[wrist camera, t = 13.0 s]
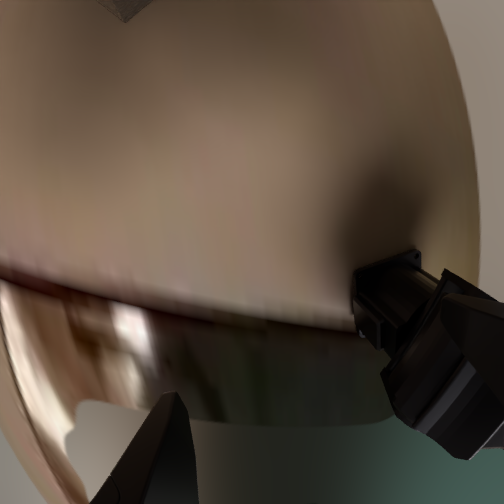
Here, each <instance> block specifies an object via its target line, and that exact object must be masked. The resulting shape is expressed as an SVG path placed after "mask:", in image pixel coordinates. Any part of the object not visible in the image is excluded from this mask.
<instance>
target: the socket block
mask: <svg viewBox="0 0 504 504" xmlns="http://www.w3.org/2000/svg"><path fill="white" fill-rule="evenodd" d="M96 1H98V2H99V3H100V4H101V5H103V6H104V7H105V8H107V9H108V10H109V11H111V12H112V13H113V14H114V15H116V16H117V17H118V18H119V19H121V20H122V21H123V22H124V23H126V22H127V21H128V20H129V19H131V18H132V17H133V16H134V15H135V14H136V13H138V12H139V11H140V10H141V9H143V8H144V7H145V6H146V5H148V4H149V3H150V2H151V1H153V0H96Z"/></svg>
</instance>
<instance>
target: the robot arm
mask: <svg viewBox="0 0 504 504" xmlns="http://www.w3.org/2000/svg"><path fill="white" fill-rule="evenodd" d="M415 254H416V256H415ZM414 256H415V257H414ZM360 274H361V277H359V278H358V276H359V275H360ZM441 275H442V277H441V279H440V280H438V279H436V278H435V277H433V276H432V275H430V274H429V273H427V272H426V271H424V270H422V269H421V252H420V251H419V250H417V249H413V250H410V251H407V252H405V253H402V254H399V255H396V256H394V257H391V258H388V259H385V260H383V261H380V262H377V263H374V264H371V265H368V266H365V267H363V268H360V269H357V270H356V271H355V272H354V274H353V281H354V291H355V296H354V298H353V308H354V320H355V325H356V326H357V330H358V334H359V336H360V337H361V338H364V337H366V338H367V339H368V340H369V341H370V343H371V344H372V345H373V346H374V347H375V349H376V350H378V351H381V350H384V351H385V352H386V353H387V354H388V355H389V357H390V358H391V361H390V362H389V364H388V365H387V366H386V368H385V367H384V369H383V370H382V371H381V373H380V375H381V378H382V381H383V383H384V386H385V389H386V392H387V394H388V397H389V400H390V403H391V406H392V408H393V410H394V412H395V415H396V417H397V418H399V419H400V420H401V421H403V422H404V423H405V424H406V425H407V426H409V427H411V428H412V429H414V430H416V431H419V432H422V433H424V434H426V435H427V436H429V437H430V438H432V439H433V440H435V441H436V442H437V443H438V444H439V445H441V446H442V447H443V448H444V449H445V450H446V451H447V452H448V453H450V454H451V455H452V456H453V457H454V458H458V459H464V460H471V459H472V458H473V457H474V456H475V455H476V453H478V451H480V449H491V448H502V449H503V450H504V303H501V302H498V301H497V300H495V299H494V298H492V297H491V296H489V295H488V294H486V293H485V292H483V291H482V290H480V289H479V288H477V287H475V286H474V285H472V284H471V283H469V282H467V281H466V280H464V279H462V278H461V277H459V276H457V275H455V274H454V273H452V272H450V271H449V270H447V269H445V268H444V270H443V272H442V274H441ZM110 475H111V476H108V478H107V479H106V481H105V482H104V484H103V485H102V487H101V488H100V490H99V491H98V493H97V494H96V496H95V497H94V498H93V499H92V501H91V502H90V503H89V504H199V497H198V485H197V470H196V456H195V450H194V444H193V440H192V433H191V427H190V422H189V415H188V411H187V409H186V407H185V405H184V403H183V402H182V400H181V398H180V396H179V395H178V393H177V392H176V391H170V392H165V393H163V394H162V395H161V396H160V398H159V399H158V401H157V402H156V404H155V405H154V407H153V409H152V410H151V412H150V413H149V415H148V416H147V418H146V419H145V421H144V422H143V424H142V426H141V427H140V429H139V430H138V432H137V433H136V435H135V436H134V438H133V439H132V441H131V442H130V444H129V446H128V447H127V449H126V450H125V452H124V453H123V455H122V456H121V458H120V460H119V461H118V462H117V464H116V466H115V467H114V469H113V470H112V472H111V473H110Z"/></svg>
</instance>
